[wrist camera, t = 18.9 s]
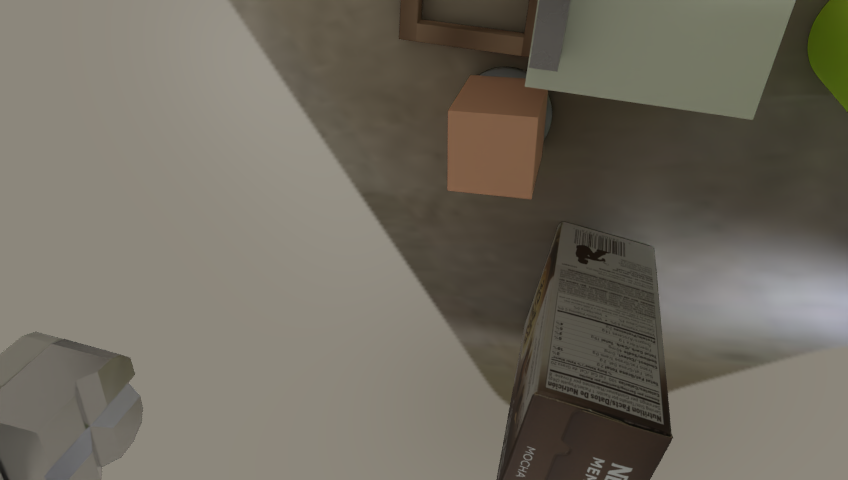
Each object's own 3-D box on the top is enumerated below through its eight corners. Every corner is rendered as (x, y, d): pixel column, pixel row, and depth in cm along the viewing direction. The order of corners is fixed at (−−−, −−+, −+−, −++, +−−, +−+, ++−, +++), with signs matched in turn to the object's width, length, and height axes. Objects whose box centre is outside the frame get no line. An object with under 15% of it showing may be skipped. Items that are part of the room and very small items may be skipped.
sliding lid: (807, -59, 26) (829, -47, 23) (748, 110, 29) (761, 137, 27) (552, -85, 27) (545, -76, 25) (527, 78, 31) (519, 100, 28)
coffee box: (611, 350, 46) (609, 559, 32) (522, 323, 46) (484, 518, 33) (659, 245, 41) (679, 442, 27) (558, 217, 41) (530, 395, 28)
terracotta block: (542, 153, 39) (531, 199, 34) (468, 147, 40) (447, 190, 35) (548, 80, 37) (538, 117, 32) (470, 74, 38) (448, 110, 33)
